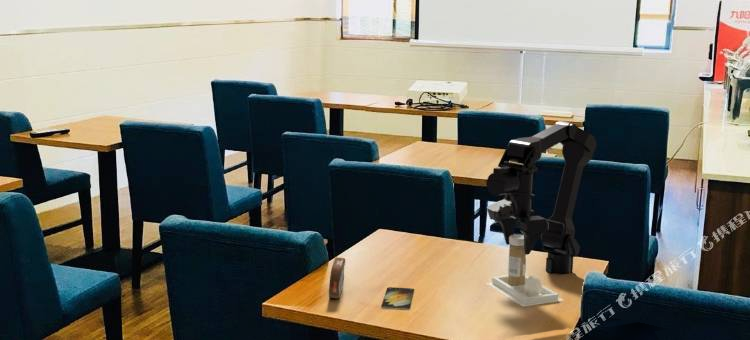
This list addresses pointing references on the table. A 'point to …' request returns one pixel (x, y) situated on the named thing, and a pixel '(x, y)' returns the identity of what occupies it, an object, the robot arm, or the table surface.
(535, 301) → the tray
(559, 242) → the robot arm
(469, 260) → the table surface
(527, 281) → the egg
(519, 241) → the sprinkles bottle
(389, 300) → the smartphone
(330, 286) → the tin
